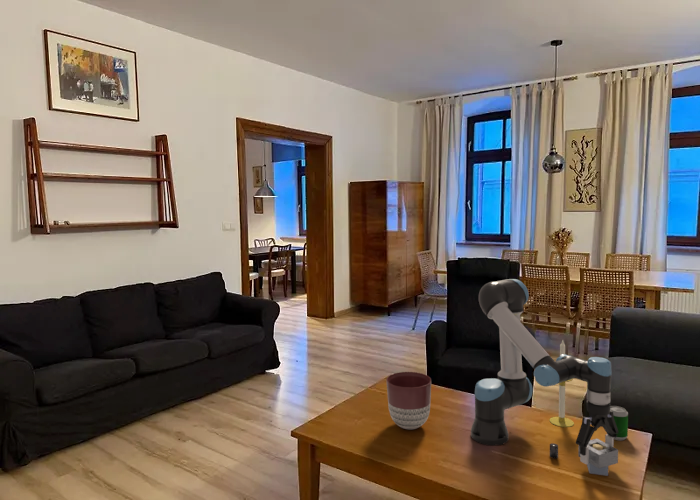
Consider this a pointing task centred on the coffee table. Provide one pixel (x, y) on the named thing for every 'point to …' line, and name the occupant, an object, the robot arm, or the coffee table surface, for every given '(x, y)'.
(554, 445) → the ball
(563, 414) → the candle
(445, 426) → the coffee table surface
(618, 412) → the soda can
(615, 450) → the grey hollow block
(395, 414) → the planter
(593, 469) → the blue-gray block
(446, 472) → the coffee table surface
